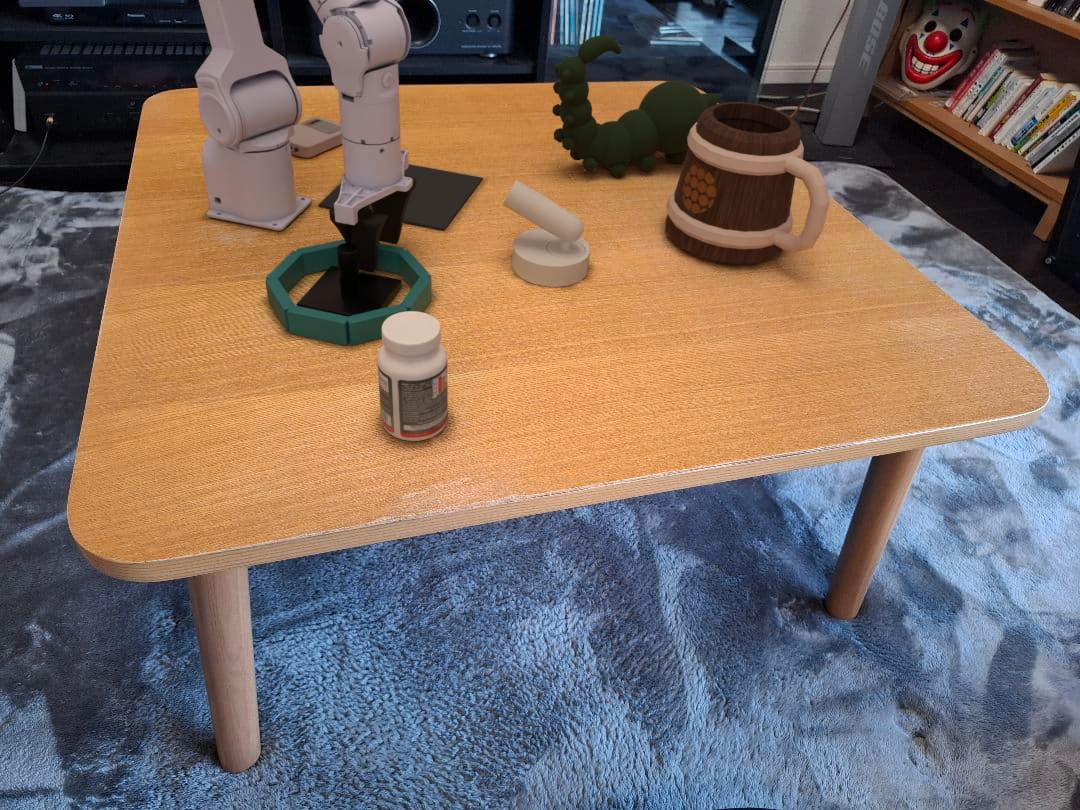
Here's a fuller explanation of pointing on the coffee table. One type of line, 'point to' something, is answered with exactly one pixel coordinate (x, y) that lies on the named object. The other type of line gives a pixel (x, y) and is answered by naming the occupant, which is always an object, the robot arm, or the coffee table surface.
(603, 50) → the toy figurine
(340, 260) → the post
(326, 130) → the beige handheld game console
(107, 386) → the coffee table surface
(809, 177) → the mug
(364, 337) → the hoop
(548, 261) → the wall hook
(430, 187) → the mat
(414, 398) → the pill bottle
